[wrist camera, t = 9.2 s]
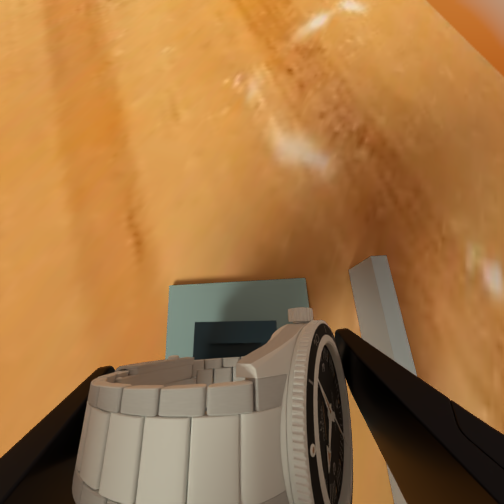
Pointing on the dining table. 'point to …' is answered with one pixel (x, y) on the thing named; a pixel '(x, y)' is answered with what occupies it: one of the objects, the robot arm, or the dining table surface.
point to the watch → (223, 421)
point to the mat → (228, 307)
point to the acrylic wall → (381, 320)
